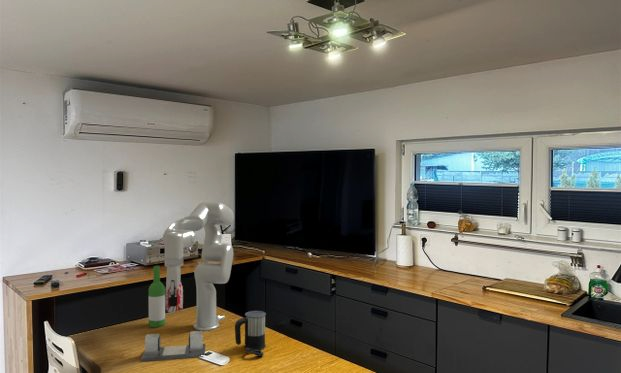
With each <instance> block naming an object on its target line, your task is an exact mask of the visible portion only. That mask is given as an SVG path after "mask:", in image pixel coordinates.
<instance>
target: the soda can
mask: <svg viewBox="0 0 621 373" xmlns="http://www.w3.org/2000/svg"><path fill="white" fill-rule="evenodd" d="M183 287H184V286H183V285H182V281H180V283H179V289H178V290H177V306H173V307H170V306H169V294H170V288H169V290H168V291H167V290H166V287H165V312H168V313H169V314H171V313H172V314H173V313H175V314H176V313H179V312H181V311H182V310H183V308H184V307H183V306H184V305H183V304H184V294H183V293H184V289H183ZM174 289H176V288H174ZM174 292H175V291H174Z"/></svg>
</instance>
